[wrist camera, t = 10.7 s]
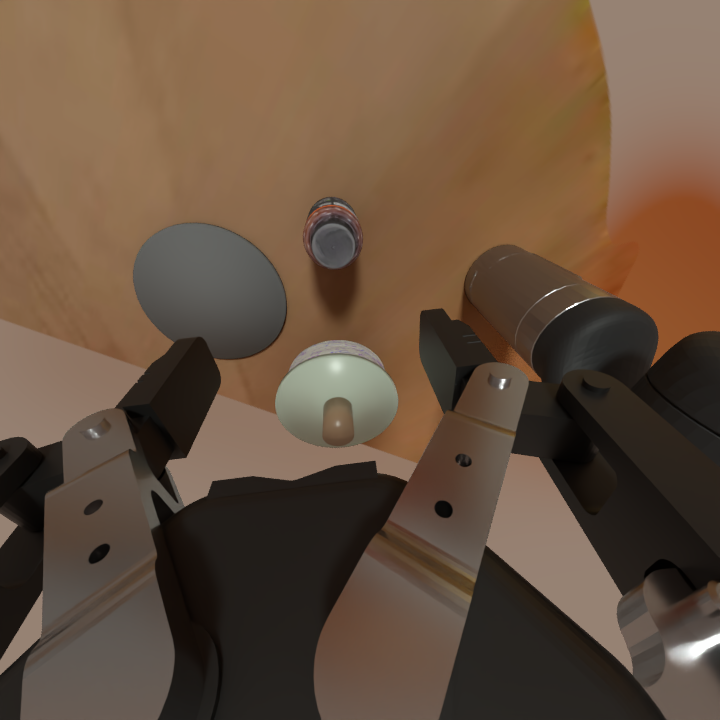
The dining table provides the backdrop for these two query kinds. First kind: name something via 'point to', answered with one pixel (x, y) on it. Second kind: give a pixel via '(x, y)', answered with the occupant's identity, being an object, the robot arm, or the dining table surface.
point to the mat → (210, 289)
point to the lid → (336, 400)
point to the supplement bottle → (332, 234)
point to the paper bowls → (336, 351)
